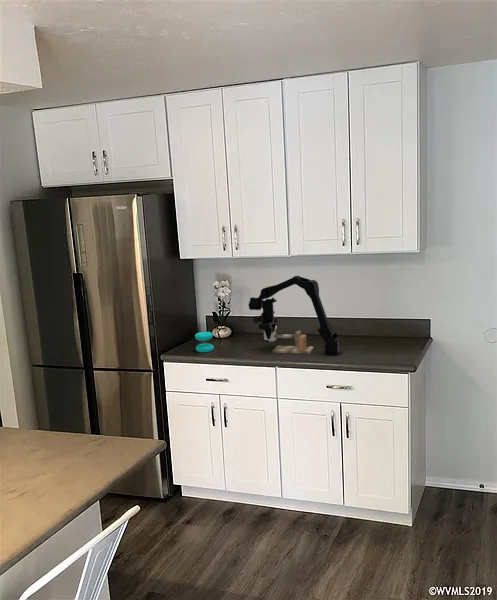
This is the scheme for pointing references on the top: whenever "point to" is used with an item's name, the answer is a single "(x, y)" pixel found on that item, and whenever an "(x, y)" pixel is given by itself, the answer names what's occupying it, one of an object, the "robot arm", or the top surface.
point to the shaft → (280, 336)
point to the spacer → (302, 342)
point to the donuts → (202, 337)
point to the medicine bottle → (274, 330)
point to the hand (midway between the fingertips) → (269, 338)
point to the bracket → (293, 347)
